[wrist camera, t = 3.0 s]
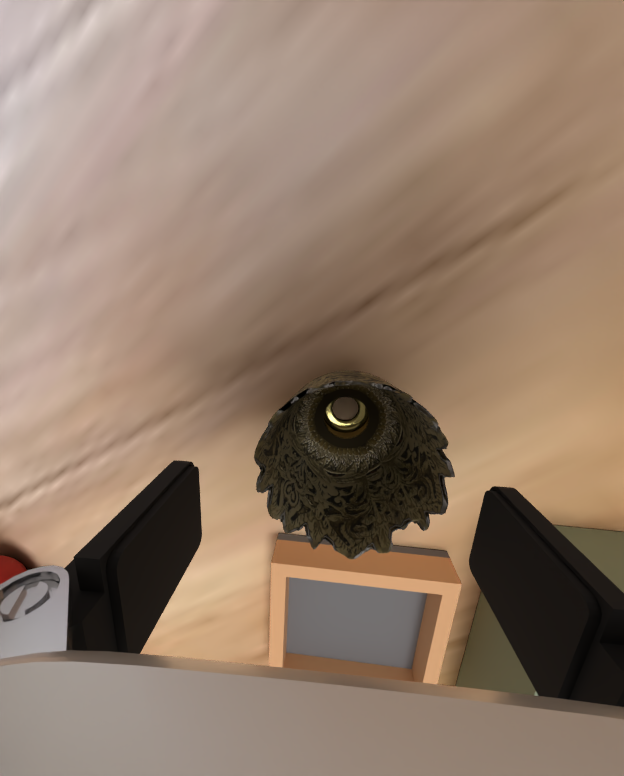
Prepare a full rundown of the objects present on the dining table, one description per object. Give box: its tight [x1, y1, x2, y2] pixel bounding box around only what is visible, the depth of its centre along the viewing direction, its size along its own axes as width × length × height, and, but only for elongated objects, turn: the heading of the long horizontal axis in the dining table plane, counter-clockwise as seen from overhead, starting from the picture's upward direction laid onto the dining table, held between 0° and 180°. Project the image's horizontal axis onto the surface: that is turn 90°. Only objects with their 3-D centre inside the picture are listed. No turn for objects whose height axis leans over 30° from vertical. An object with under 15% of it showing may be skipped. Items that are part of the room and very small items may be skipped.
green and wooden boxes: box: [269, 525, 624, 696], centre depth 19 cm, size 18×27×7 cm, turn 87°
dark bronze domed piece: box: [254, 371, 455, 559], centre depth 15 cm, size 8×7×8 cm
